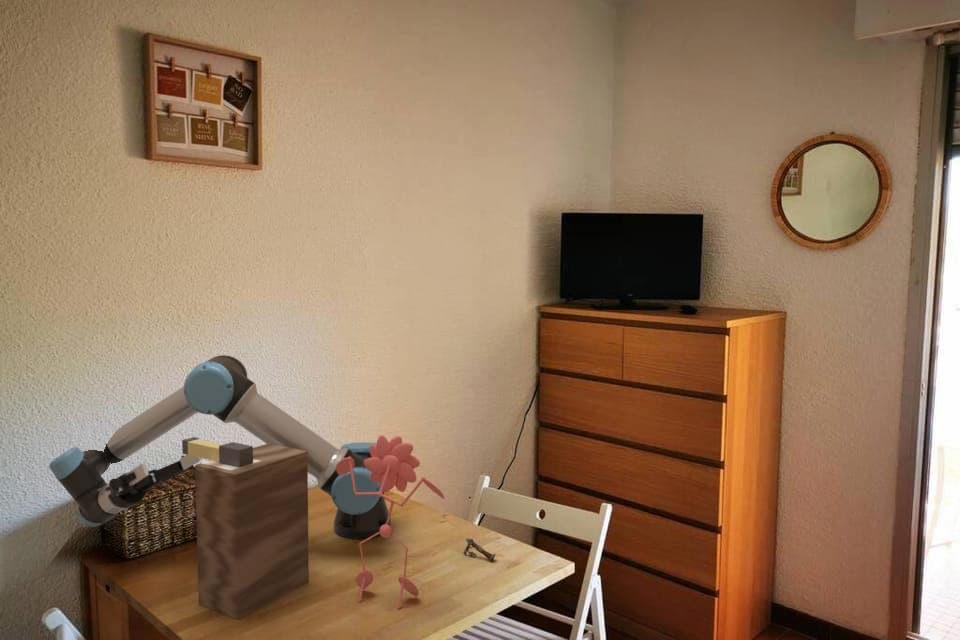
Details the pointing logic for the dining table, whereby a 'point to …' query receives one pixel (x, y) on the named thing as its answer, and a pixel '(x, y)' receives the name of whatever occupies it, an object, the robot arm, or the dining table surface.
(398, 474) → the figurine
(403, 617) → the dining table surface
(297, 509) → the tall wood-grain block
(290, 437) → the robot arm
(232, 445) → the marker
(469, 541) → the wooden post with brackets
